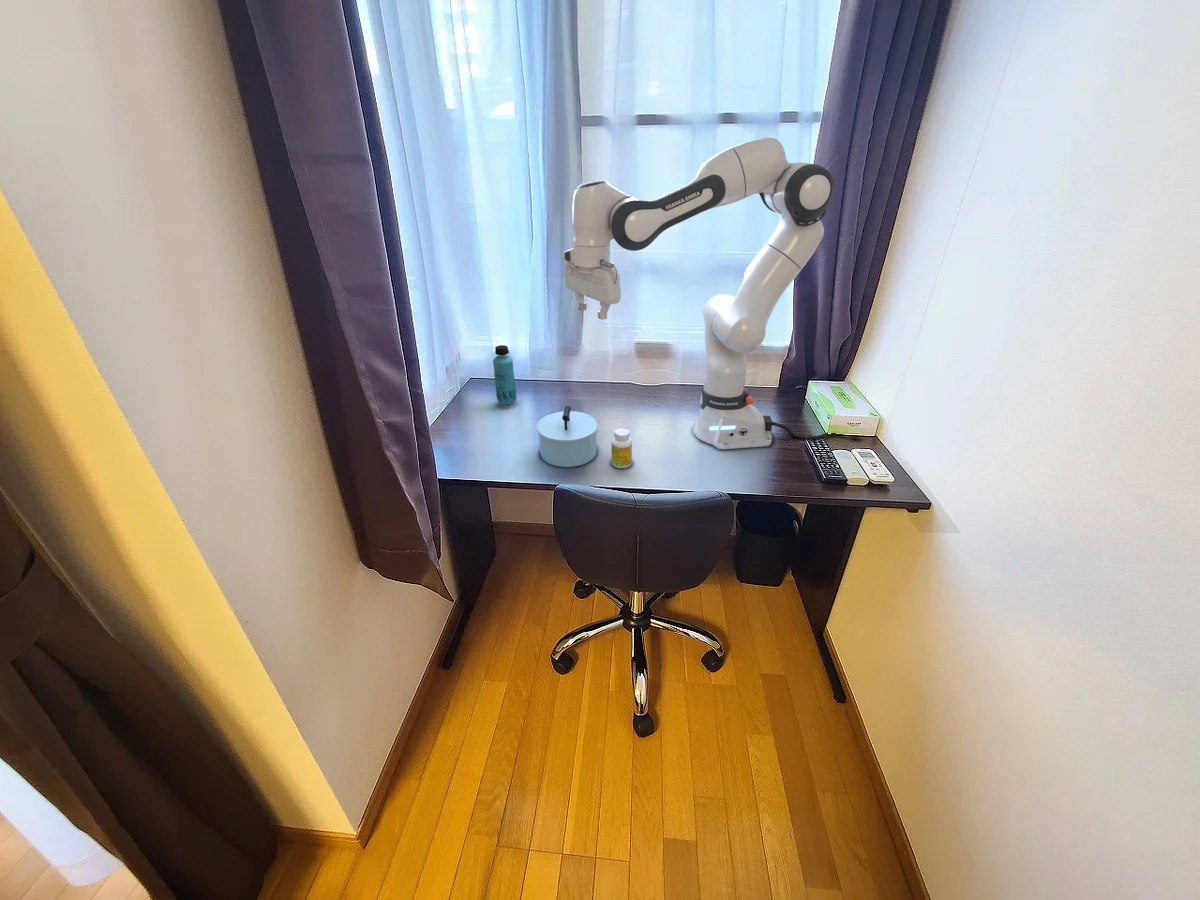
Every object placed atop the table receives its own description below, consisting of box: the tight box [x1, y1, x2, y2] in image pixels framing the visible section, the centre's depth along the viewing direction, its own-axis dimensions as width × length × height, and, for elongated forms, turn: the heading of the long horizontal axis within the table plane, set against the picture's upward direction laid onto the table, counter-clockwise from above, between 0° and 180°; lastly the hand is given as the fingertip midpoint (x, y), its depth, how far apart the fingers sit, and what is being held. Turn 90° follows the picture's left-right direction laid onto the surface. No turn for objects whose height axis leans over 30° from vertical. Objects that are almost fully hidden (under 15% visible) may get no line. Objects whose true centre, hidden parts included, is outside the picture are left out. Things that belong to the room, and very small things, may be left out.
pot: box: [537, 431, 598, 468], centre depth 139 cm, size 16×16×8 cm
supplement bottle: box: [610, 427, 633, 469], centre depth 134 cm, size 5×5×10 cm
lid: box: [536, 405, 599, 442], centre depth 136 cm, size 17×17×6 cm
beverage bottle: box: [492, 344, 517, 405], centre depth 162 cm, size 6×7×20 cm
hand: (592, 314), depth 128 cm, fingers open, 8 cm apart
